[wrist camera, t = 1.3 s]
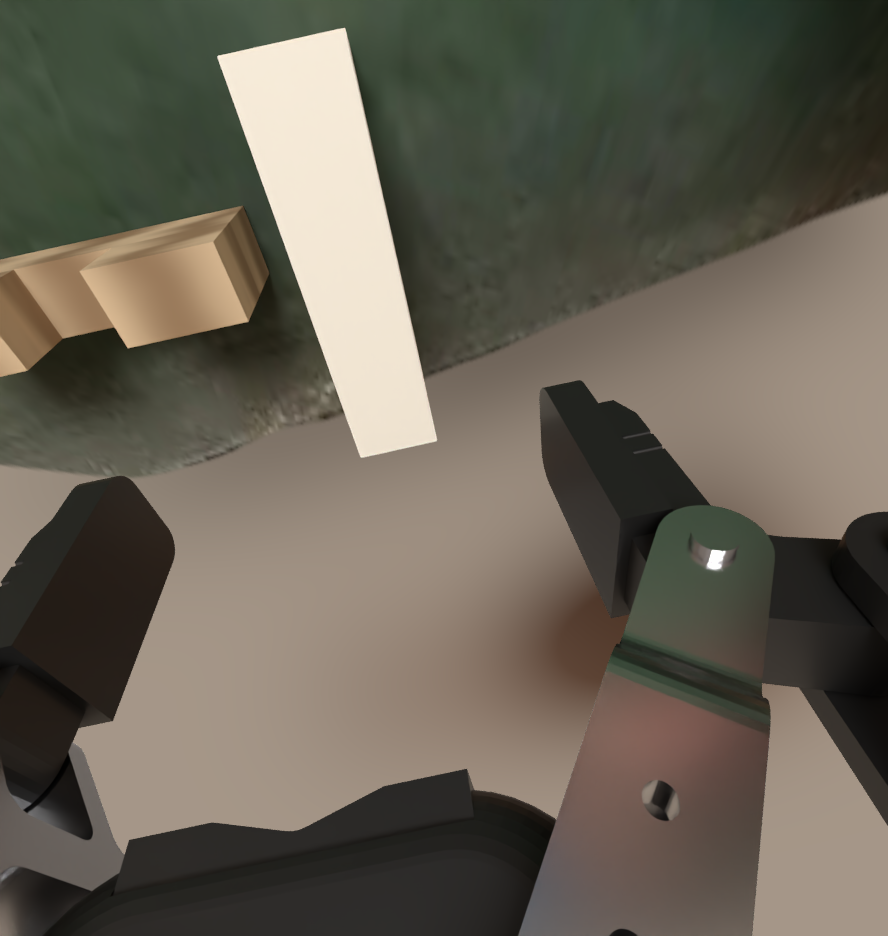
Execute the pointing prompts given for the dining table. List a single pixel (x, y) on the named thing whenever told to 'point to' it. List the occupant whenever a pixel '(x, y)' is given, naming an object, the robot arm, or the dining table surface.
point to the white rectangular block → (335, 228)
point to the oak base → (131, 286)
